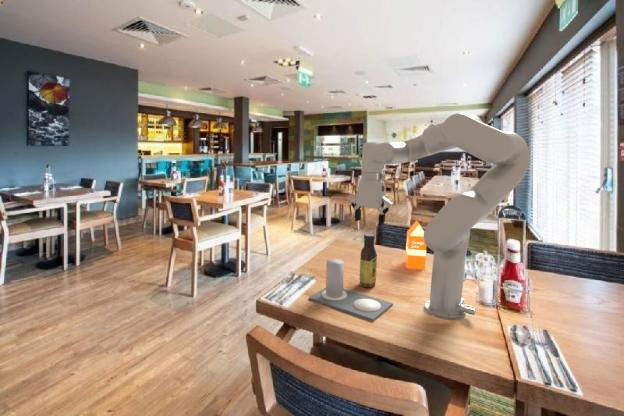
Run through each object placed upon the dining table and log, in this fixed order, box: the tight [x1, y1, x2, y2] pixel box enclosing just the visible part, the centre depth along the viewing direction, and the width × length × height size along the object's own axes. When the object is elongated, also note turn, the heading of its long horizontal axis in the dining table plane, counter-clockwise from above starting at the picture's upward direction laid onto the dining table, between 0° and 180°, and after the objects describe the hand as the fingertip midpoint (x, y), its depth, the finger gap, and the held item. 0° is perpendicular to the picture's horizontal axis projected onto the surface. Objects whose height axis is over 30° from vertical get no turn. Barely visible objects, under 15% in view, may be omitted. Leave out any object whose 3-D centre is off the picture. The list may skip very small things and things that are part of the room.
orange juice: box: [405, 220, 427, 270], centre depth 156 cm, size 8×9×20 cm
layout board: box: [308, 258, 394, 322], centre depth 119 cm, size 25×14×13 cm, turn 53°
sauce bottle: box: [359, 233, 378, 288], centre depth 133 cm, size 6×6×20 cm
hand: (369, 222), depth 131 cm, fingers open, 9 cm apart
